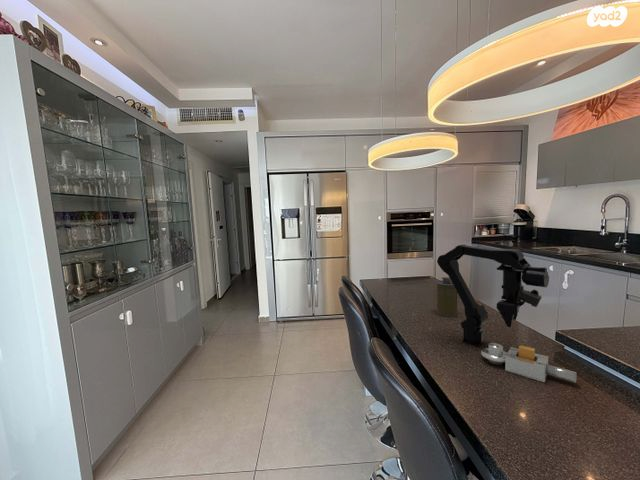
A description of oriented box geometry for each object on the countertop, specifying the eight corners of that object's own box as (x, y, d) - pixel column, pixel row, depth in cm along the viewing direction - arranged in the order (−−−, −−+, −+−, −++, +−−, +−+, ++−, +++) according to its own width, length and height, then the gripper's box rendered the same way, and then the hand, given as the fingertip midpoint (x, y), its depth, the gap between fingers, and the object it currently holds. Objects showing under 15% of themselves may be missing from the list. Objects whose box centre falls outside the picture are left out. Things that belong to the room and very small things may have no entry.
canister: (435, 315, 146) (434, 278, 144) (438, 309, 154) (438, 275, 153) (457, 318, 140) (457, 280, 138) (459, 312, 148) (459, 276, 147)
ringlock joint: (478, 362, 98) (478, 346, 97) (485, 352, 104) (485, 337, 103) (575, 392, 79) (575, 372, 79) (576, 378, 86) (577, 360, 85)
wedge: (518, 370, 92) (518, 347, 91) (519, 367, 93) (520, 344, 93) (533, 374, 89) (533, 351, 88) (534, 371, 91) (534, 348, 90)
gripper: (535, 291, 88) (535, 337, 89) (543, 280, 101) (542, 321, 102) (496, 286, 96) (496, 328, 97) (507, 277, 109) (507, 314, 110)
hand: (511, 323), depth 101 cm, fingers open, 9 cm apart
